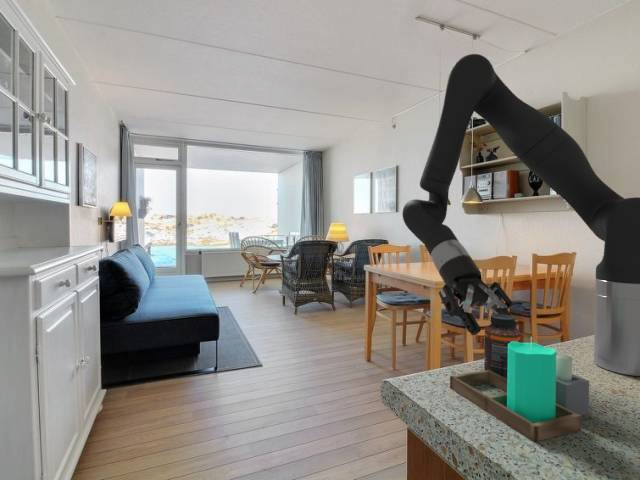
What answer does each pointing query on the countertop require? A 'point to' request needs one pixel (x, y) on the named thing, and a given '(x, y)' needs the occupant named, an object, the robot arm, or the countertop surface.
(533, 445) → the countertop surface
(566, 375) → the pale green rounded peg
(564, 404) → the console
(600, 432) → the countertop surface
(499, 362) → the supplement bottle
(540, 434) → the wooden tray
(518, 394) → the candle
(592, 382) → the countertop surface
